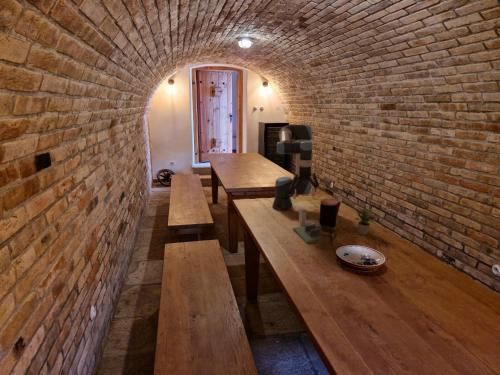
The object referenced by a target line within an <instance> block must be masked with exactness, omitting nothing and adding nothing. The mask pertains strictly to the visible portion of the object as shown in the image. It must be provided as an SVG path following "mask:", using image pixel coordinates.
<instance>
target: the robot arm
mask: <svg viewBox="0 0 500 375" xmlns="http://www.w3.org/2000/svg"><path fill="white" fill-rule="evenodd" d="M278 139H279V141H278V142H276V153H277V154H286V155H287V154H295V155H296V159H295V173H294V176H293V178H291V176H290V177H289V176H281V177H278V178H277V179H275V184H274V188H275V191H274V192H275V193H274V199H273V202H272V208H273V210H276V211H279V212H280V211H281V212H284V211H285V212H286V211H291V210H292V209H293V202H292V199H293V200H297V196H309V195H310V193H311V197H312V198H316V192H317V188H318V187H320V183H319V180H318V178H317V175H316V172H314V171H312V160H313V141H311V140H313V131H312V126H311V125H310V124H305V123H304V124H287V125H285V126H283V127H281V128H280V129H279V132H278ZM311 177H312V178H311ZM291 196H292V198H291Z"/></svg>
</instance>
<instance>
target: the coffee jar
mask: <svg viewBox="0 0 500 375" xmlns="http://www.w3.org/2000/svg"><path fill="white" fill-rule="evenodd" d="M337 204H338V202H337V201H336V200H333V199H329V198H323V199H320V204H319V205H320V206H319V219H318V224H320V225H321V227H322V226H328V227H331V228H333V227H334V226H335V225H336V224H337V217H338V215H337Z"/></svg>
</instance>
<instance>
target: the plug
mask: <svg viewBox="0 0 500 375" xmlns="http://www.w3.org/2000/svg"><path fill="white" fill-rule="evenodd" d="M298 211H299V212H298V224H299V225H300V227H304V226H305V225H306V223H307V210H306V209H304V208H300V209H299V210H298Z"/></svg>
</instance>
